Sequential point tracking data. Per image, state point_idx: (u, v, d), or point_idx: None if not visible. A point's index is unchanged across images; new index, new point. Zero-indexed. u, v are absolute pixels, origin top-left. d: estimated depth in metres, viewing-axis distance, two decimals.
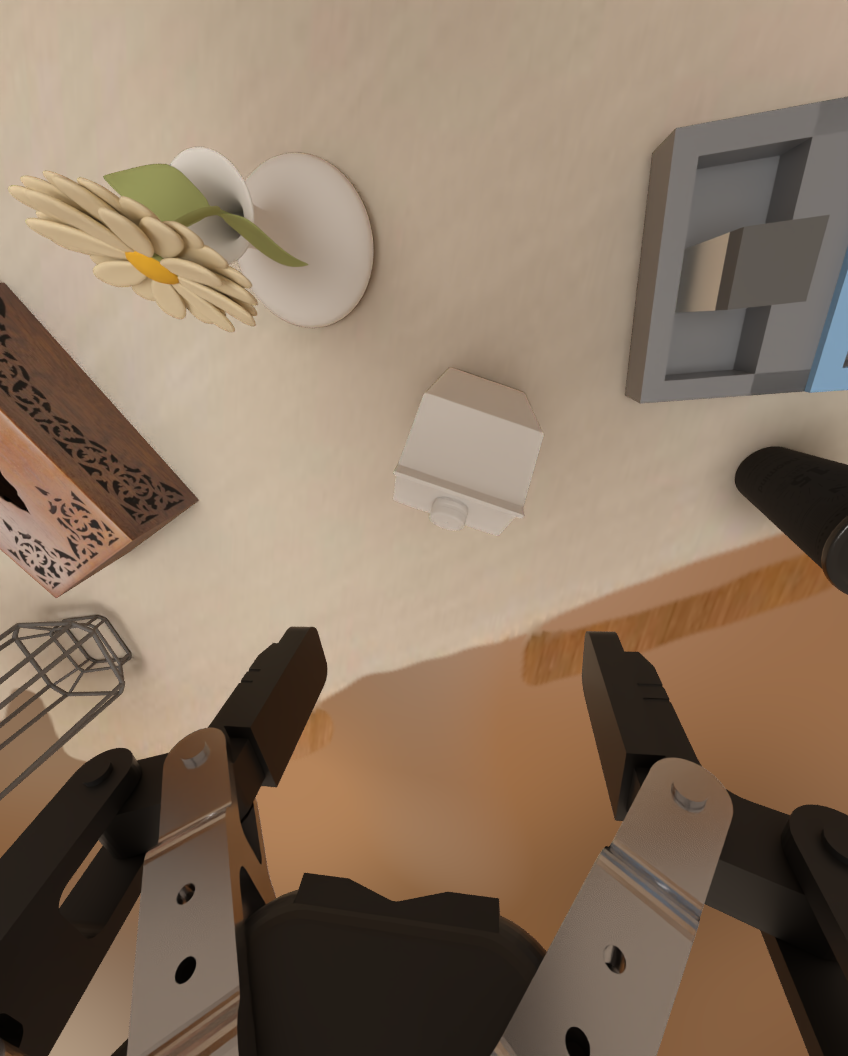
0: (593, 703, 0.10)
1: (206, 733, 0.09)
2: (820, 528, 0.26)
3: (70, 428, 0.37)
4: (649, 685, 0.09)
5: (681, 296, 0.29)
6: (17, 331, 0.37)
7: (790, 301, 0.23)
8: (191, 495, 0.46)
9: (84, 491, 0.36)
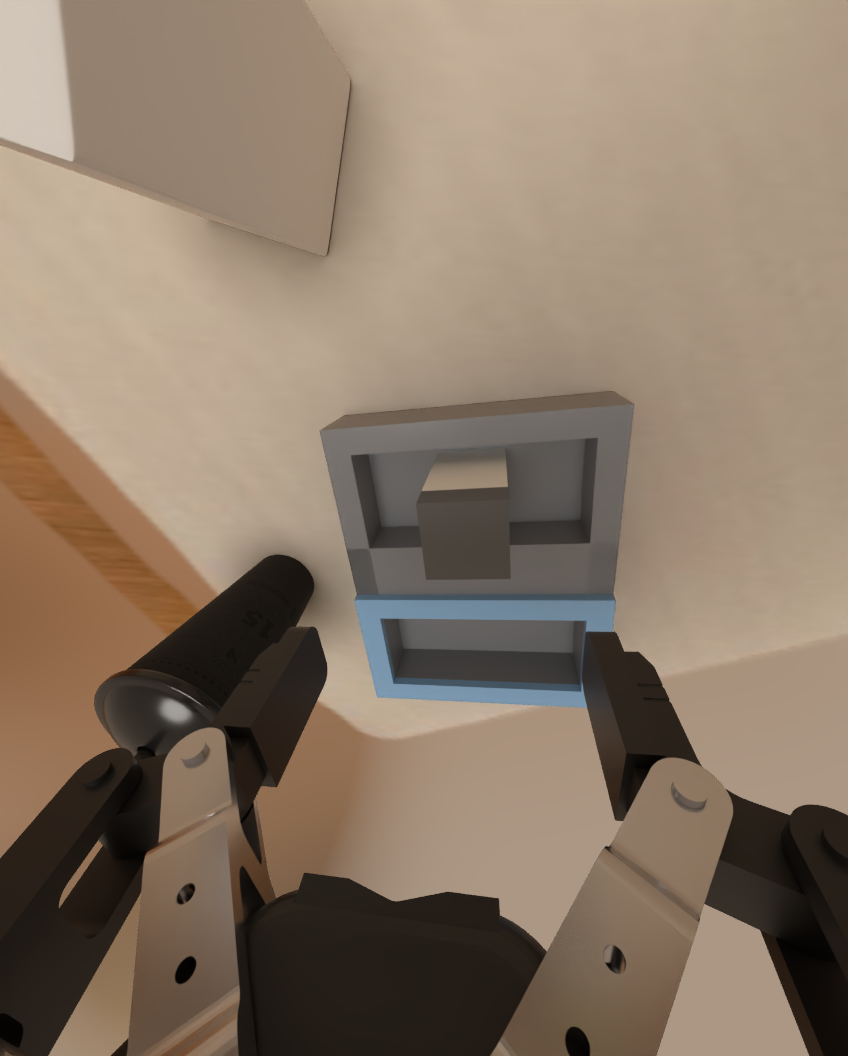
0: (593, 703, 0.10)
1: (206, 733, 0.09)
2: (170, 657, 0.20)
3: None
4: (649, 685, 0.09)
5: (454, 455, 0.24)
6: None
7: (425, 565, 0.19)
8: None
9: None
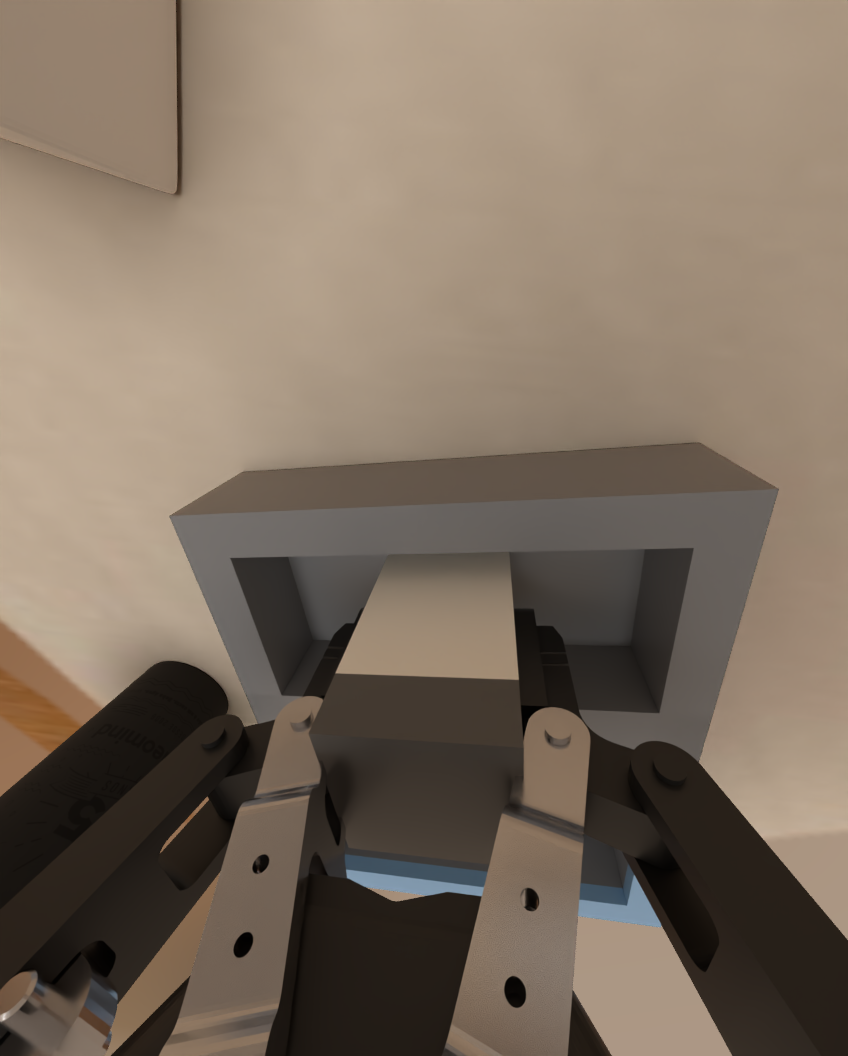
0: None
1: (307, 701, 0.09)
2: None
3: None
4: (554, 653, 0.11)
5: None
6: None
7: None
8: None
9: None
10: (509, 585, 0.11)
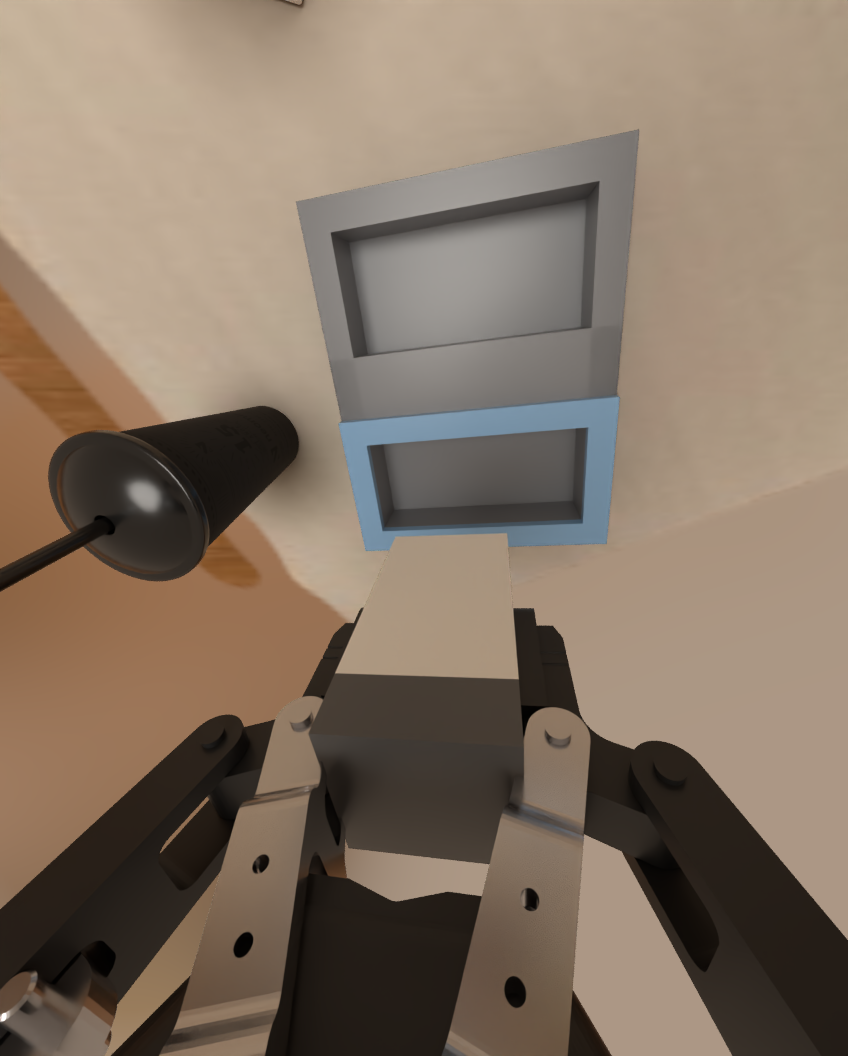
0: None
1: (307, 701, 0.09)
2: (132, 431, 0.19)
3: None
4: (554, 653, 0.11)
5: (419, 549, 0.14)
6: None
7: None
8: None
9: None
10: (508, 585, 0.11)
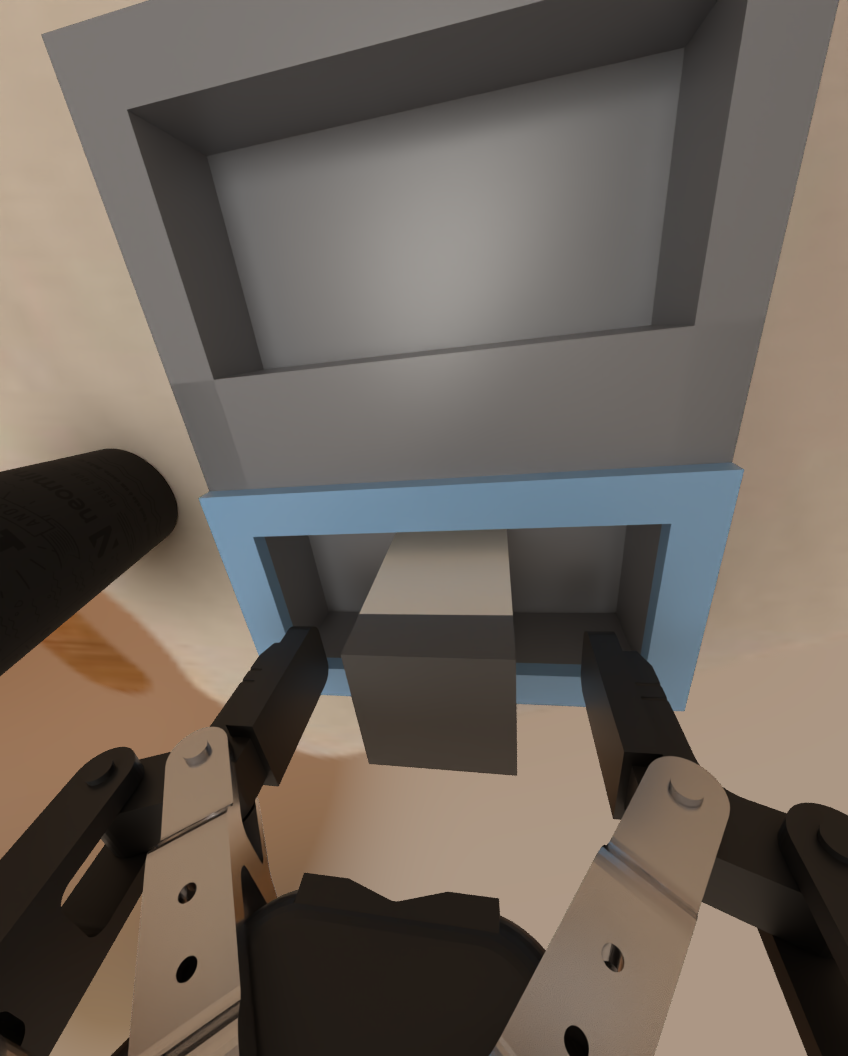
0: (591, 702, 0.10)
1: (208, 732, 0.09)
2: None
3: None
4: (647, 684, 0.09)
5: None
6: None
7: (366, 745, 0.11)
8: None
9: None
10: (506, 548, 0.13)
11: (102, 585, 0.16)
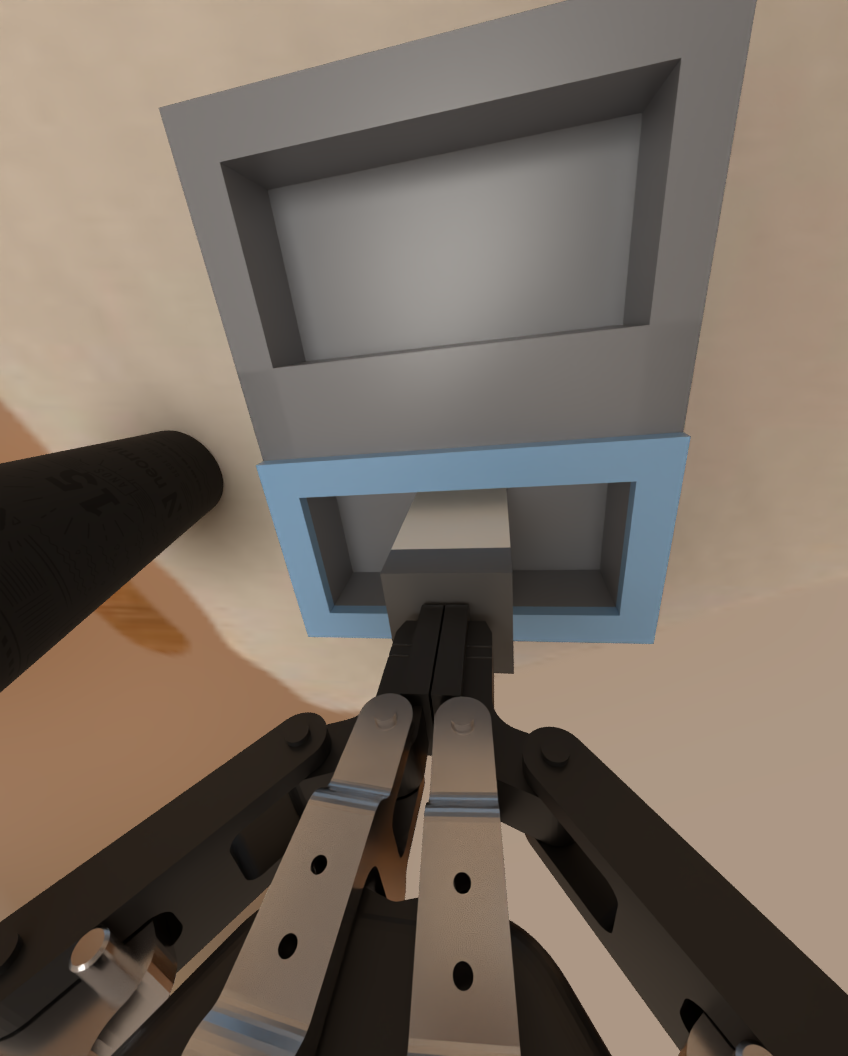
0: None
1: (388, 699, 0.09)
2: None
3: None
4: (481, 646, 0.11)
5: None
6: None
7: None
8: None
9: None
10: (505, 505, 0.16)
11: (168, 542, 0.19)
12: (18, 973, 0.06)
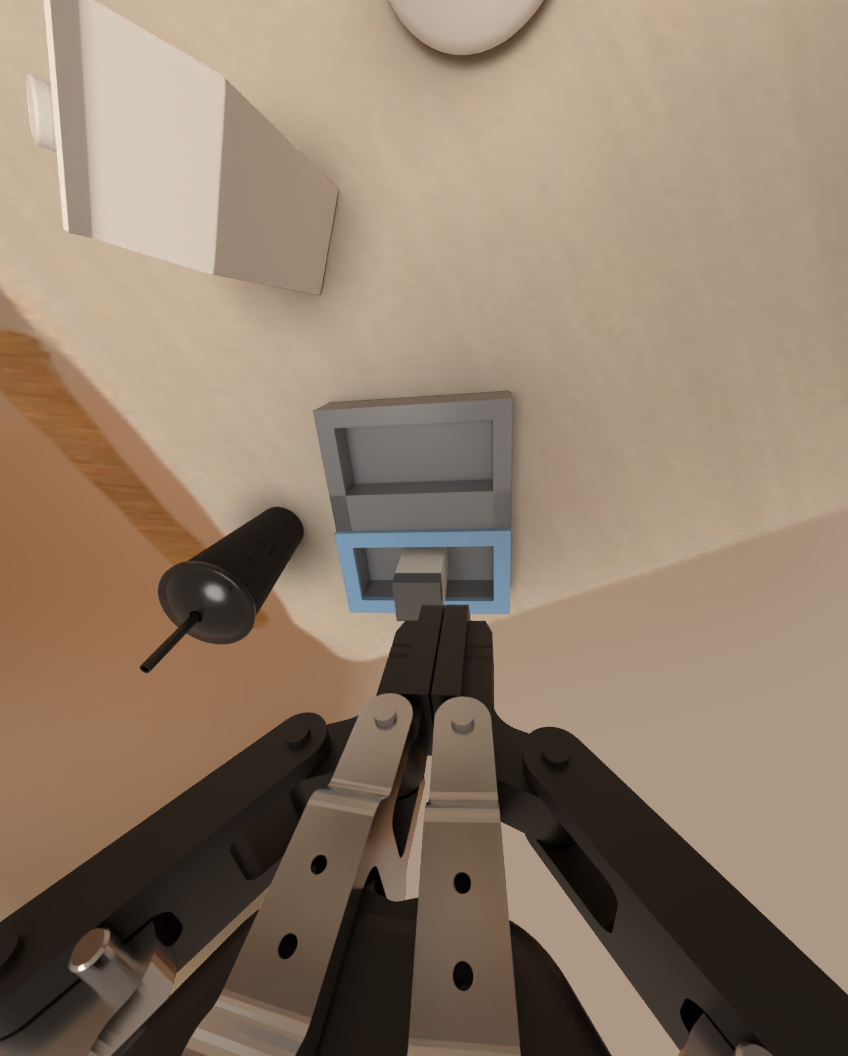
0: None
1: (388, 699, 0.09)
2: (211, 557, 0.31)
3: None
4: (481, 646, 0.11)
5: None
6: None
7: (396, 613, 0.35)
8: None
9: None
10: (443, 553, 0.37)
11: (285, 565, 0.39)
12: (18, 973, 0.06)
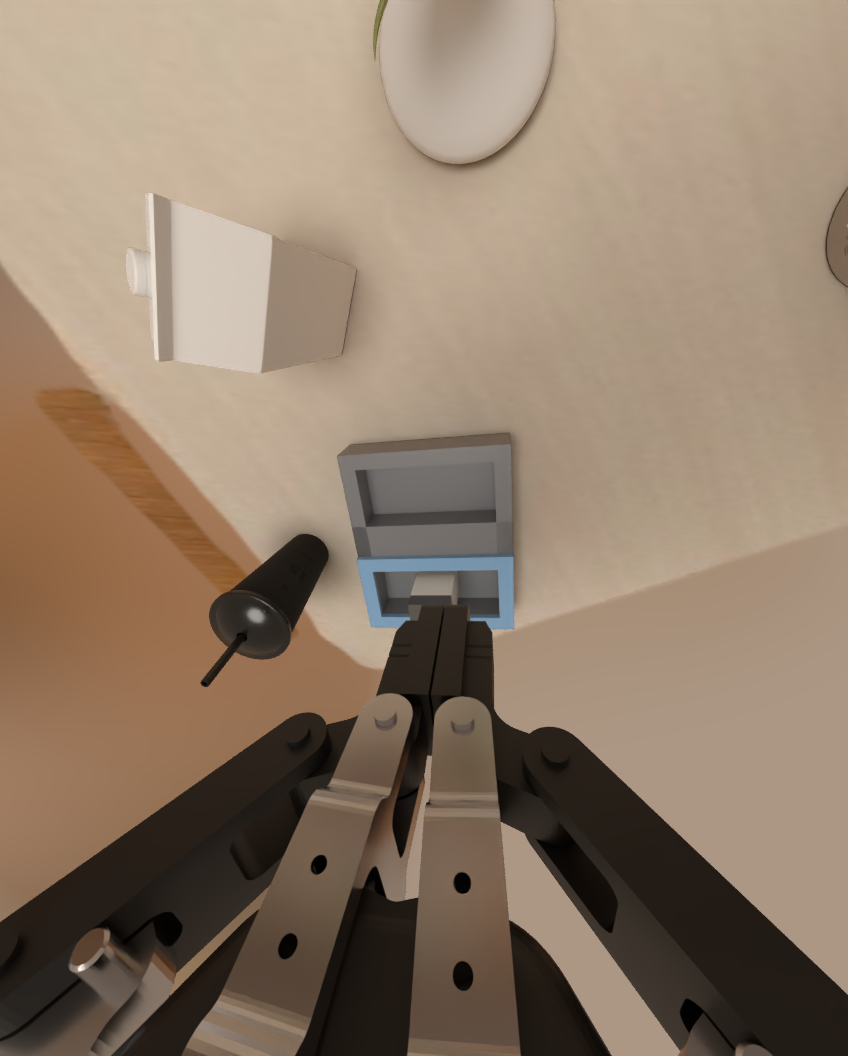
0: None
1: (388, 699, 0.09)
2: (253, 586, 0.36)
3: None
4: (481, 646, 0.11)
5: None
6: None
7: None
8: None
9: None
10: (453, 575, 0.42)
11: None
12: (18, 973, 0.06)
